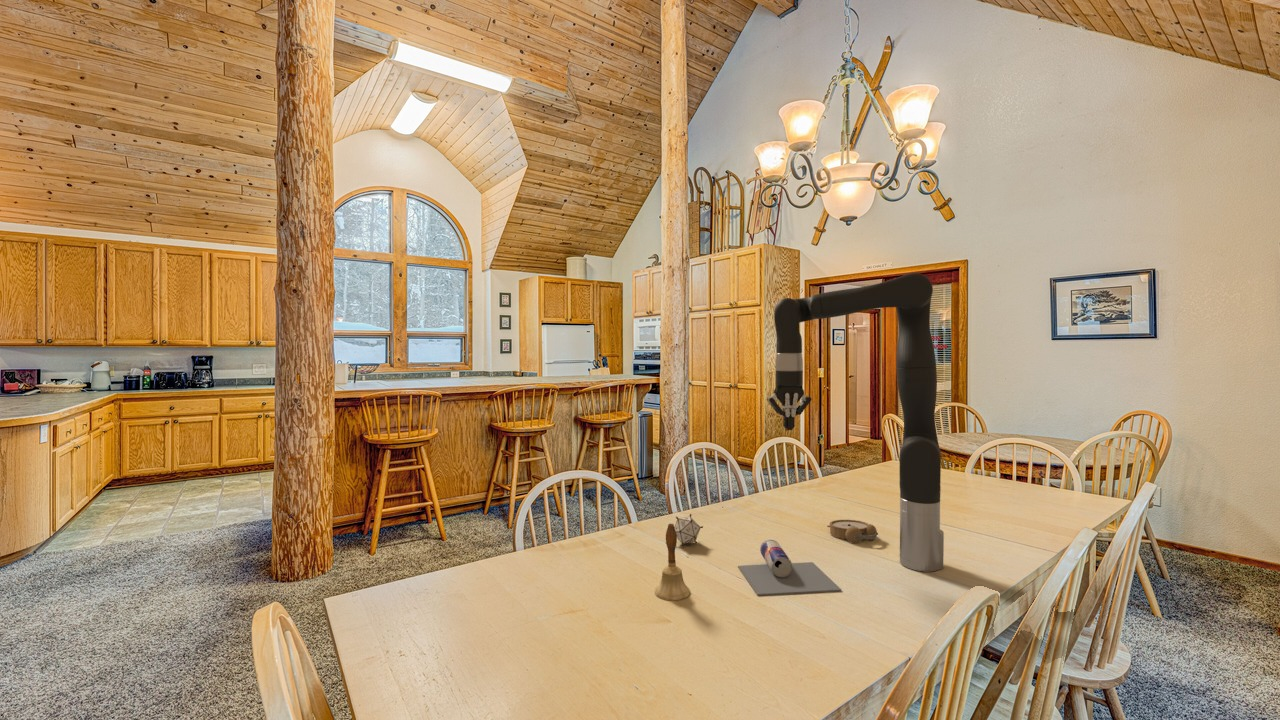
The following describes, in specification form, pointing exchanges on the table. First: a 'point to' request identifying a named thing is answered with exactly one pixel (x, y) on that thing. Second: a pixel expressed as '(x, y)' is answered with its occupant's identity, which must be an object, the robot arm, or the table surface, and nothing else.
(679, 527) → the game die
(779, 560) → the energy drink
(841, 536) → the alarm clock
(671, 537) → the hand bell
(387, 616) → the table surface
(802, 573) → the slate mat
